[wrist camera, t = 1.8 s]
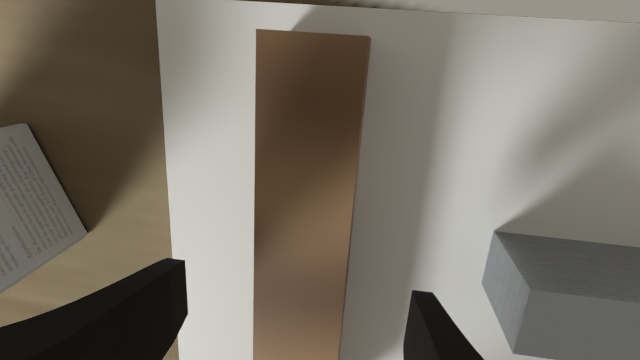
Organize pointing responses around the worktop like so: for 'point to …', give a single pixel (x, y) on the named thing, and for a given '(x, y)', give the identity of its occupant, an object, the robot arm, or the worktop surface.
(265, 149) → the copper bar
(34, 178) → the skincare box
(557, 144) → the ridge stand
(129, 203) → the worktop surface
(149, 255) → the worktop surface
